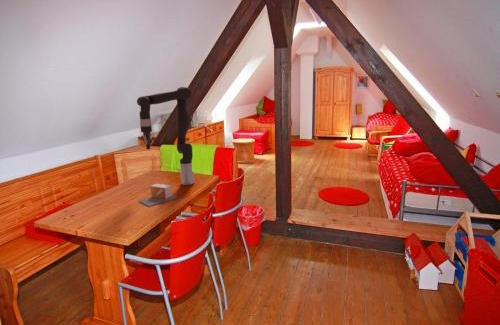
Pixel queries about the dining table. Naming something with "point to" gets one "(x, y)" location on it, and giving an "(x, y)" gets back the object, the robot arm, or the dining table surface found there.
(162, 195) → the small box
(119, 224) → the dining table surface
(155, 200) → the slate mat
